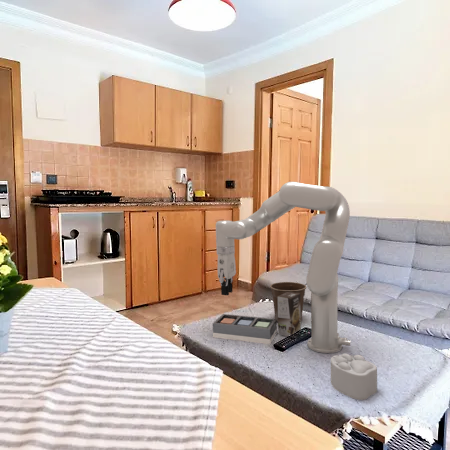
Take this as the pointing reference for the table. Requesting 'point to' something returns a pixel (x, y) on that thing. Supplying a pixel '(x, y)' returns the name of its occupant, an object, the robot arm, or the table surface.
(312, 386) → the table surface
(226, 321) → the key terracotta
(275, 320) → the frame
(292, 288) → the plant pot
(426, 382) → the table surface
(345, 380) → the lumpy-topped squat cylinder
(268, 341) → the base
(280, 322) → the coffee box
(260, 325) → the key sage
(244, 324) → the key slate
